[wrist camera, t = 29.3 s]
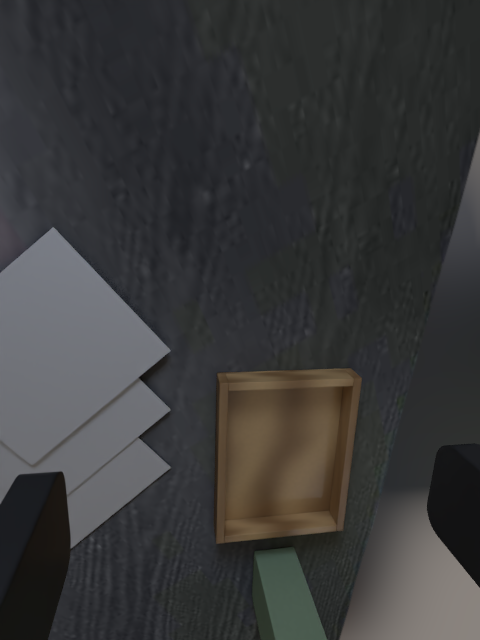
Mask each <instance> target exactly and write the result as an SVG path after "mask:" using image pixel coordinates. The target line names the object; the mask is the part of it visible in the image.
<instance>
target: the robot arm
mask: <svg viewBox="0 0 480 640" xmlns="http://www.w3.org/2000/svg"><path fill="white" fill-rule="evenodd" d="M427 511H428V516H429V520H430V523H431V526H432V527H433V530H434V531H435V533H436V534H437V536H438V537H439V538H440V539H441V541H442V542H443V543H444V544H445V546H446V547H447V548H448V549H449V550H450V552H451V553H452V554H453V555H454V557H455V558H456V559H457V560H458V562H459V563H460V564H461V565H462V566H463V568H464V569H465V570H466V571H467V573H468V574H469V575H470V576H471V578H472V579H473V580H474V581H475V582H476V584H477V585H478V586H479V587H480V445H479V444H461V445H447V446H442V447H441V448H440V449H439V450H438V452H437V454H436V459H435V464H434V470H433V475H432V481H431V486H430V492H429V496H428V502H427ZM70 548H71V535H70V524H69V514H68V504H67V493H66V483H65V477H64V474H63V472H62V471H59V472H44V473H30V474H20V475H18V476H17V477H16V478H15V480H14V482H13V483H12V485H11V487H10V489H9V490H8V492H7V494H6V495H5V497H4V499H3V501H2V502H1V504H0V640H48V637H49V633H50V630H51V626H52V623H53V620H54V616H55V613H56V609H57V606H58V602H59V599H60V595H61V592H62V588H63V585H64V581H65V578H66V574H67V570H68V565H69V559H70Z"/></svg>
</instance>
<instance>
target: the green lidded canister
mask: <svg viewBox="0 0 480 640" xmlns="http://www.w3.org/2000/svg"><path fill="white" fill-rule="evenodd" d="M252 599H253V604H254V609H255V614H256V619H257V623H258V628H259V633H260V638H261V640H327V638H326V635H325V633H324V630H323V627H322V624H321V621H320V619H319V616H318V613H317V610H316V607H315V605H314V602H313V599H312V596H311V593H310V591H309V588H308V585H307V582H306V579H305V577H304V574H303V571H302V568H301V565H300V563H299V560H298V557H297V554H296V552H295V549H294V547H287V548H277V549H268V550H259V551H254V566H253V585H252Z"/></svg>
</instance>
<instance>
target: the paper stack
mask: <svg viewBox="0 0 480 640" xmlns="http://www.w3.org/2000/svg"><path fill="white" fill-rule="evenodd" d="M170 351H171V350H170V349H169V348H168V347H167V346H166V345H165V344H164V343H163V342H162V341H161V340H160V339H159V338H158V337H157V336H156V335H155V333H154V332H153V331H152V330H151V329H150V328H149V327H148V326H147V325H146V324H145V323H144V322H143V321H142V320H141V319H140V318H139V317H138V316H137V315H136V313H135V312H134V311H133V310H132V309H131V308H130V307H129V306H128V305H127V304H126V303H125V302H124V301H123V300H122V299H121V298H120V297H119V296H118V295H117V293H116V292H115V291H114V290H113V289H112V288H111V287H110V286H109V285H108V284H107V283H106V282H105V281H104V280H103V279H102V278H101V277H100V276H99V275H98V273H97V272H96V271H95V270H94V269H93V268H92V267H91V266H90V265H89V264H88V263H87V262H86V261H85V260H84V259H83V258H82V257H81V256H80V255H79V253H78V252H77V251H76V250H75V249H74V248H73V247H72V246H71V245H70V244H69V243H68V242H67V241H66V240H65V239H64V238H63V237H62V236H61V235H60V234H59V232H58V231H57V230H56V229H55V228H54V227H53V228H52V229H51V230H49V231H48V232H47V233H46V234H45V235H44V236H42V237H41V238H40V239H39V240H38V241H37V242H36V243H34V244H33V245H32V246H31V247H30V248H29V249H27V250H26V251H25V252H24V253H23V254H22V255H20V256H19V257H18V258H17V259H16V260H15V261H13V262H12V263H11V264H10V265H9V266H8V267H7V268H5V269H4V270H3V271H2V272H1V273H0V504H1V502H2V501H3V499H4V497H5V495H6V494H7V492H8V490H9V489H10V487H11V485H12V483H13V482H14V480H15V478H16V477H17V476H18V475H20V474H30V473H44V472H59V471H62V472H63V474H64V477H65V483H66V493H67V504H68V514H69V524H70V535H71V548H72V547H74V546H75V545H76V544H77V543H78V542H80V541H81V540H82V539H83V538H85V537H86V536H87V535H88V534H90V533H91V532H92V531H93V530H95V529H96V528H97V527H98V526H99V525H101V524H102V523H103V522H104V521H106V520H107V519H108V518H109V517H111V516H112V515H113V514H114V513H115V512H117V511H118V510H119V509H120V508H122V507H123V506H124V505H125V504H127V503H128V502H129V501H130V500H131V499H133V498H134V497H135V496H136V495H138V494H139V493H140V492H141V491H143V490H144V489H145V488H146V487H148V486H149V485H150V484H151V483H152V482H154V481H155V480H156V479H157V478H159V477H160V476H161V475H162V474H164V473H165V472H166V471H167V470H168V469H170V468H171V467H170V466H169V465H168V464H167V463H166V462H165V461H163V460H162V459H161V458H160V457H159V456H158V455H157V454H156V453H155V452H154V451H153V450H151V449H150V448H149V447H148V446H147V445H146V444H145V443H144V442H143V441H142V440H141V439H139V438H138V436H140V435H141V434H142V433H143V432H144V431H146V430H147V429H148V428H149V427H151V426H152V425H153V424H154V423H155V422H157V421H158V420H159V419H160V418H162V417H163V416H164V415H165V414H166V413H168V412H169V411H170V410H171V409H170V408H169V407H168V406H167V405H166V404H165V403H164V402H163V401H162V400H161V399H160V398H159V397H158V396H157V395H156V394H155V393H154V392H152V391H151V390H150V389H149V388H148V387H147V386H146V385H145V384H144V383H143V382H142V381H141V380H140V379H139V378H138V377H140V376H141V375H142V374H143V373H144V372H146V371H147V370H148V369H149V368H150V367H152V366H153V365H154V364H155V363H157V362H158V361H159V360H160V359H161V358H163V357H164V356H165V355H166V354H167V353H169V352H170ZM71 548H70V549H71Z"/></svg>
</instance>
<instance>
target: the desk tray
mask: <svg viewBox="0 0 480 640" xmlns="http://www.w3.org/2000/svg"><path fill="white" fill-rule="evenodd" d="M361 381H362V378H361V377H360V376H359V375H357V374H356V373H355V372H354V371H353V370H352V369H351V368H346V369H316V370H285V371H255V372H225V373H217V386H216V437H215V489H214V531H215V538H216V544H219V543H227V542H237V541H247V540H256V539H266V538H275V537H285V536H295V535H304V534H314V533H323V532H333V531H343V526H344V518H345V510H346V502H347V494H348V486H349V477H350V469H351V461H352V453H353V445H354V437H355V429H356V421H357V413H358V405H359V397H360V389H361Z"/></svg>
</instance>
